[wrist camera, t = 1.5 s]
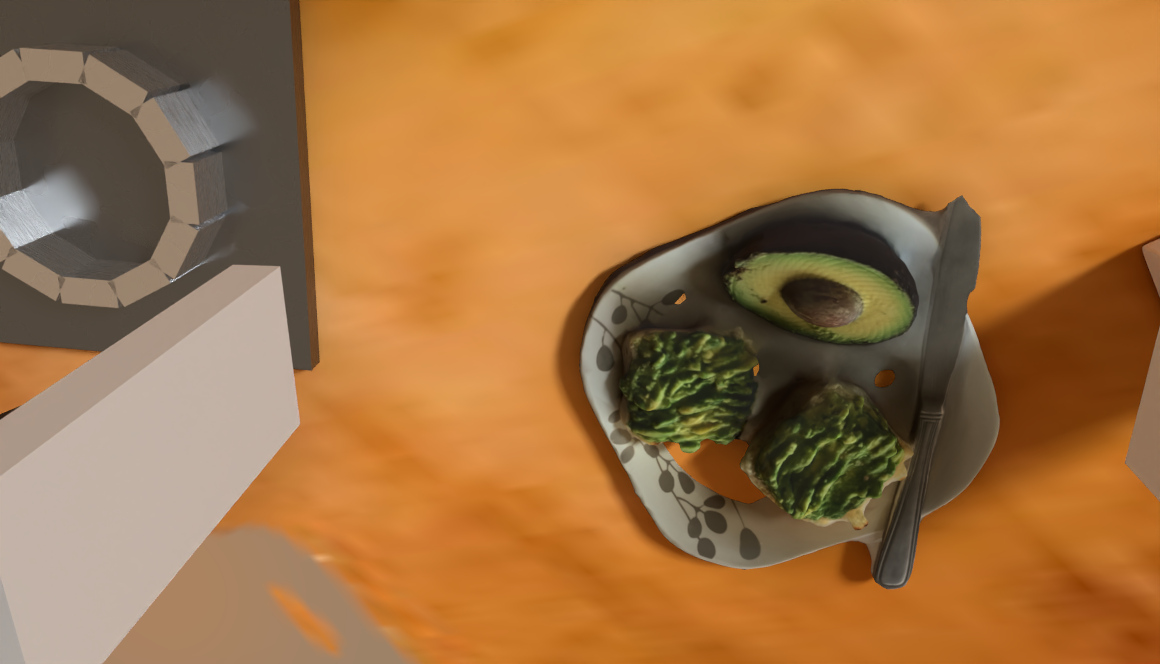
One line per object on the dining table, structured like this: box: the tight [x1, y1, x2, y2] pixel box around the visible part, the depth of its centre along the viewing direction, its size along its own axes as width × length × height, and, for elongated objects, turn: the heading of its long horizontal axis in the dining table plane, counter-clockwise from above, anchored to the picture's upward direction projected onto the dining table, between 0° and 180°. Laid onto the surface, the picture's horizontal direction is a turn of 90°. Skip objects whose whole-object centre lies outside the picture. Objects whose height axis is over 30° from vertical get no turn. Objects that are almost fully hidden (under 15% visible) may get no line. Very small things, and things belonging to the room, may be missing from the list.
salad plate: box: [579, 189, 1000, 589], centre depth 39 cm, size 19×18×5 cm
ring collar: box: [0, 0, 319, 370], centre depth 38 cm, size 17×17×4 cm
